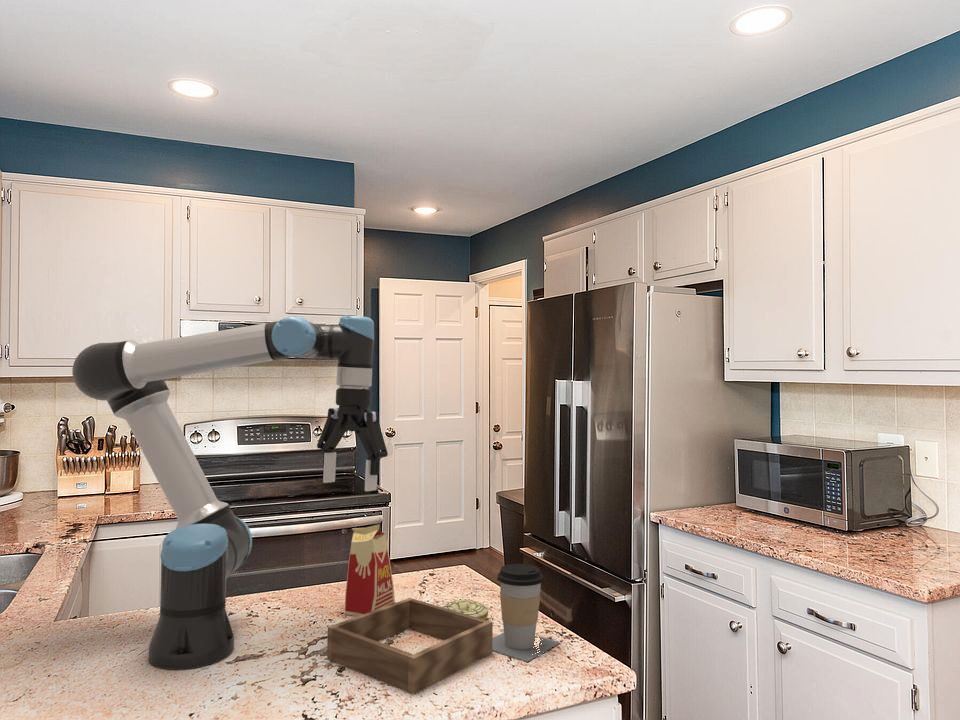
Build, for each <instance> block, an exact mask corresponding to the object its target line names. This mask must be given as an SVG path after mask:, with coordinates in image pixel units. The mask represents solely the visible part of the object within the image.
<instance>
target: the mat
mask: <svg viewBox="0 0 960 720" xmlns="http://www.w3.org/2000/svg"><path fill="white" fill-rule="evenodd" d="M538 636H539V635H538ZM537 638H538V637H537ZM539 638H540V640H541V641H540V643H539V648H537V647H538V646H537V647H534V646H535V645H533V647H534V648H533V647H531V648H529V649H524V650H518V649H513V648H510V647H507V646H506V645H505V639H504V632H502V633H500V634H498V635H496V636H494V637H492V652H494V653H497V654H500V655H503V656H506V655H507V657H509V656H510V658H512V657H513V658H512V659H515V658H517V659H516V660H518V659H519V661H521V660H523V661H522V662H524V661H526V662H525V663H527V662H528V661H530V660H531V661H533V660H534V659H533V658H535V657H536V658H538V657H539V656H538V655H540V654H542V653H543V652H545V651H547V650H548V651H550V650H552V649H553V648H552V647H554V648H556V647H557V646H559V645H560V644H561V642H560V641H556V640H552V639H549V638H546V637H543V636H539ZM542 639H543V640H542ZM536 643H537V642H536ZM541 643H542V645H540V644H541ZM558 644H559V645H558ZM556 645H557V646H556ZM536 648H537V649H536ZM551 648H552V649H551ZM538 649H540V650H538ZM549 649H550V650H549ZM537 650H538V651H537ZM539 651H540V652H539ZM548 651H547V652H548ZM537 652H539V653H537ZM535 653H536V654H535ZM545 653H546V652H545ZM532 654H533V655H532ZM543 654H544V653H543ZM543 654H542V655H543ZM537 656H538V657H537ZM540 656H541V655H540ZM536 658H535V659H536ZM532 659H533V660H532ZM531 661H530V662H531ZM528 663H529V662H528Z"/></svg>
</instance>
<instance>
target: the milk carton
mask: <svg viewBox="0 0 960 720" xmlns="http://www.w3.org/2000/svg"><path fill="white" fill-rule="evenodd" d="M380 526H381V524H380V523H379V524H375V525H371V526H367V527H358V528H357V527H354V528H351V530H352V531H353V533H352V539H351V543H350V551H349V557H348V564H347V566H348V567H347V575H346V587H345V598H344V614H343V615H349V616H353V617H357V616H360V615H363V614H366V613H368V612H371V611H374V610H377V609H380V608H382V607H385V606H388V605H391V604H394V603H396V599H395V588H394V581H393V573H392V568H391V559H390V555H389V554H390V553H389V549H388V543H387V537H386V534H385V533H384V532H382V531H381V530H380Z"/></svg>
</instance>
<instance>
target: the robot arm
mask: <svg viewBox="0 0 960 720" xmlns="http://www.w3.org/2000/svg"><path fill="white" fill-rule="evenodd" d="M374 347H375V322H374V320H373V319H372V318H370V317H369V316H363V315H361V316H359V315H342V316H340V317H339V322H338V324H323V323H313V322H311V321H308V320H306V319H305V318H303V317H299V316H287V317H283V318H281V319H280V320H277V321H271V322H266V323H258V324H253V325H252V324H251V325H247V326H240V327H236V328H234V327H233V328H228V329H222V330H215V331H211V332H205V333H198V334H192V335H187V336H181V337H175V338H169V339H162V340H157V341H156V340H155V341H151V342H144V343H139V342H137V341H136V340H135V339H134V340H133V339H130V340H124V341H123V340H122V341H116V342H99V343H95V344H91V345H89V346H86V347H85V348H84V349H82V351H80V352H79V354H78V355H77V356H76V358H75V360H74V362H73V366H72V371H71V372H72V373H71V374H72V378H73V381H74V384H75V385H76V387H77V389H79V391H80V392H81V393H83V395H85V396H87V397H89V398H91V399H94V400H96V401H97V400H98V401H106V402H107V404H108V405H109V407H110V409H111V411H112V413H113V415H114V416H115V418H119V419H122V420H125V421H126V422H127V424H128V427H129V428H130V430H131V432H132V434H133V435H134V438H135V441H137V444H138V446H139V447H140V450H141V452H142V453H143V455H144V457H145V459H146V461H147V463H148V465H149V467H150V469H151V471H152V472H153V474H154V477H155V478H156V480H157V482H158V484H159V486H160V488H161V490H162V491H163V494H164V496H165V497H166V499H167V502H168V503H169V505H170V507H171V510H173V512H174V515H175V516H176V519H177V524H176V528H175V529H173V530H171V531H170V532H169V533H167V534H166V535H165V537H164V538H163V541H162V544H161V545H162V546H161V552H160V554H159V555H160V591H159V593H160V596H159V597H160V599H159V607H160V608H159V617H158V621H157V623H156V625H155V628H154V631H153V635H152V637H151V640H150V643H149V645H148V653H147V656H148V657H147V659H148V662H149V663H150V664H151V665H152V666H154V667H157V668H160V669H165V670H166V669H167V670H186V669H187V670H188V669H194V668H201V667H204V666H207V665H211V664H215V663H217V662H219V661H222V660H224V659H225V658H227V657H228V656H230V655H231V654H232V652H234V649H235V635H234V632H233V629H232V626H231V622H230V619H229V616H228V613H227V608H226V602H227V601H226V598H227V597H226V596H227V594H226V593H227V579H228V578H229V577H230V576H231V575H232V574H233V573H234V572H235V571H238V570H239V569H240V568H241V567H242V565H244V564H245V562H246V560H247V559H248V557H249V555H250V553H251V552H252V551H251V550H252V546H253V536H252V533H251V530H250V527H249V526H248V525H247V523H246V522H245V521H244V520H243V519H241V518H240V517H237V516H235V513H234V511H233V510H232V508H231V507H230V504H229V503H228V502H224V501H220V500H219V499H218V498H217V496H216V494H215V492H214V490H213V488H212V487H211V485H210V481H208V479H207V477H206V475H205V473H204V471H203V469H202V467H201V464H200V463H199V462H198V459H197V458H196V455H195V454H194V451H193V450H192V448H191V446H190V444H189V442H188V440H187V438H186V437H185V435H184V433H183V430H182V429H181V426H180V425H179V423H178V421H177V419H176V417H175V415H174V413H173V411H172V410H171V407H170V406H169V404H168V400H169V397H170V395H171V391H170V390H169V387H168V385H167V383H166V380H168V379H174V378H181V377H184V376H190V375H197V374H202V373H208V372H215V371H220V370H225V369H231V368H238V367H243V366H248V365H254V364H255V365H256V364H261V363H267V362H271V361H278V360H286V359H291V358H293V359H297V360H298V359H317V360H319V359H321V360H322V359H324V360H325V359H326V360H337V368H336V382H335V384H336V385H337V386H338V387H337V389H335V404H336V406H338V407H337V408H334V407H333V408H332V407H330V408H328V411H327V416H326V421H325V423H324V426H323V428H322V430H321V434H320V436H319V439H318V441H317V444H316V448H317V449H320V450H321V451H322V453H323V454H322V455H323V457H322V458H323V459H322V467H323V474H322V475H323V477H322V483H325V484H328V483H329V484H330V483H336V482H335V481H336V468H337V467H336V466H337V450H336V447H337V446H338V445H339V443H340V442H341V440H342V439H343V437H344V435H345V434H346V432H348V431H350V432H354V433H355V434H357V436H358V438H359V440H360V442H361V443H362V444H361V445H362V446H363V448H364V450H365V452H366V454H367V458H366V460H365V471H364V472H365V474H364V475H365V477H364V478H365V479H364V492H372V491H378V490H377V489H378V476H379V474H380V461H381V459H383V458H386V457H388V455H389V454H388V450H387V447H386V443H385V440H384V436H383V432H382V429H381V424H380V422H379V421H380V415H379V412H378V411H368V407H370V406H371V405H372V390H371V389H369V387H371V388H372V386H373V383H372V381H373V364H374V363H373V362H374Z"/></svg>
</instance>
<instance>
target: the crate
mask: <svg viewBox="0 0 960 720" xmlns="http://www.w3.org/2000/svg"><path fill="white" fill-rule="evenodd" d="M493 627H494V625H493V621H490V620H487V619H486V620H484V619H480V618H477V617H473V616H470V615H467V614H463V613H460V612H456V611H453V610H449V609H446V608H443V606H439V605H435V604H432V603H428V602H425V601H422V600H418V599H415V598H412V597H408V598H405V599H403V600H399V601H397V602H395V603H394V604H391V605H388V606H385V607H382V608H380V609H377V610H374V611H371V612H368V613H366V614H363V615H360V616H353V617H352V618H350V619H349V618H348V619H346V620H343V621H340V622H339V623H335V624H332V625H329V626H327V637H326V638H327V639H326V640H327V641H326V643H327V644H326V649H327V651H326V659H327V661H331V662H333V663H336V664H338V665H340V666H343V667H345V668H347V669H351V670H352V671H355V672H356V673H357V672H358V673H360V674H363V675H365V676H368V677H370V678H371V679H375V680H377V681H380V682H382V683H384V684H387V685H389V686H392V687H394V688H396V689H399V690H401V691H404V692H407V694H408V693H409V694H411V695H415V694H417V693H419V692H420V691H422V690H425V689H427V688H428V687H430V686H432V685H435V684H436V683H437V682H440V681H442V680H443V679H446V678H447V677H449V676H451V675H453V674H455V673H457V672H458V671H459V672H460V671H461V670H462V669H464V668H466V667H469V666H470V665H472V664H474V663H476V662H478V661H480V660H481V659H482V660H483V659H484V658H486V657H487V655H488V656H489V655H492V654H493V651H492V638H493V632H494V631H493V629H494V628H493ZM408 630H412V631H415V632H417V633H421V634H423V635H426V634H427V635H428V636H429V635H430V637H432V636H433V638H435V639H438V640H439V639H440V640H441V642H437V643H436V644H433V645H431V646H429V647H427V648H424V649H422V650H420V651H418V652H415V653H414V654H413V653H410V652H408V651H406V650H402V649H399V648H397V647H394V646H391V645H389V644H386V643H383V642H381V641H383V640H385V639H388V638H390V637H393V636H394V635H398V634H400V633H403V632H405V631H408Z"/></svg>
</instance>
